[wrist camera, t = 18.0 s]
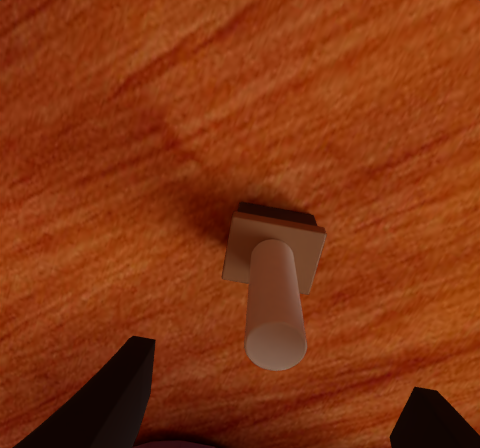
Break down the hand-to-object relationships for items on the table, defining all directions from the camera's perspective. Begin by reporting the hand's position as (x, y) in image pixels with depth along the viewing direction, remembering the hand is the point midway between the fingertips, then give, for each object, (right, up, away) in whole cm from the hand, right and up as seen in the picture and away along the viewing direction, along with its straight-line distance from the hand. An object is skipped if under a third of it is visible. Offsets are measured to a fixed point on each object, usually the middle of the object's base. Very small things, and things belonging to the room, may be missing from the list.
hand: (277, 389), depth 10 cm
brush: (+1, +4, +10) cm, 10 cm away
